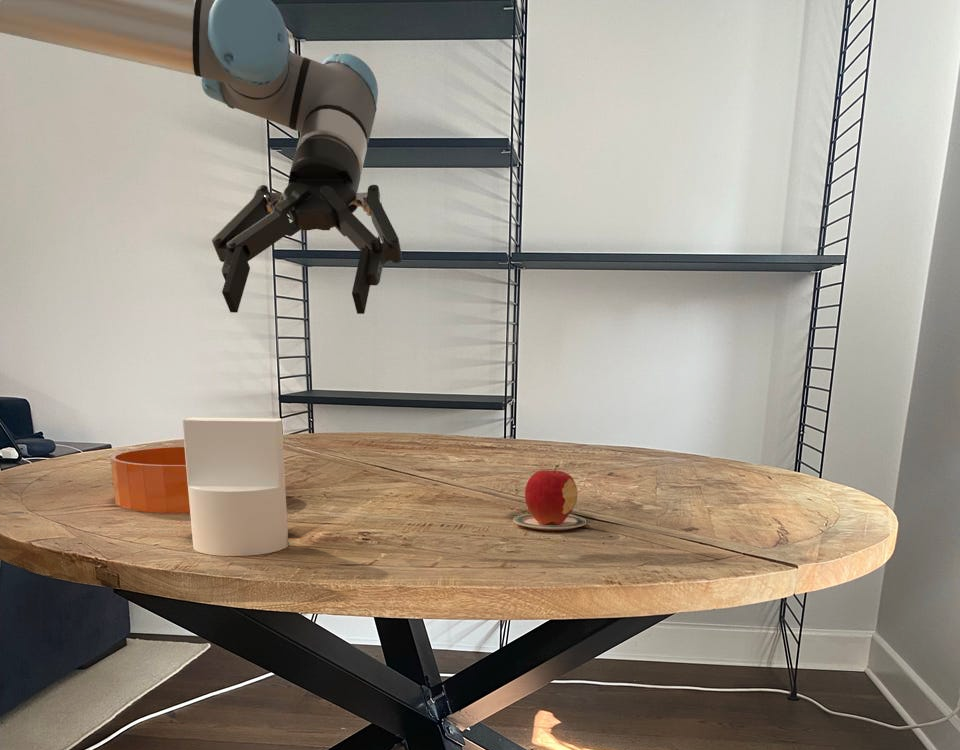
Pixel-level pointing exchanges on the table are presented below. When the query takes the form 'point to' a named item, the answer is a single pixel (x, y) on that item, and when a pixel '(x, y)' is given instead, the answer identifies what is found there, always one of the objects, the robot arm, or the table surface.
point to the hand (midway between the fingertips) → (293, 303)
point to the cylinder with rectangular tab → (236, 485)
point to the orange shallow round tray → (151, 480)
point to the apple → (550, 502)
